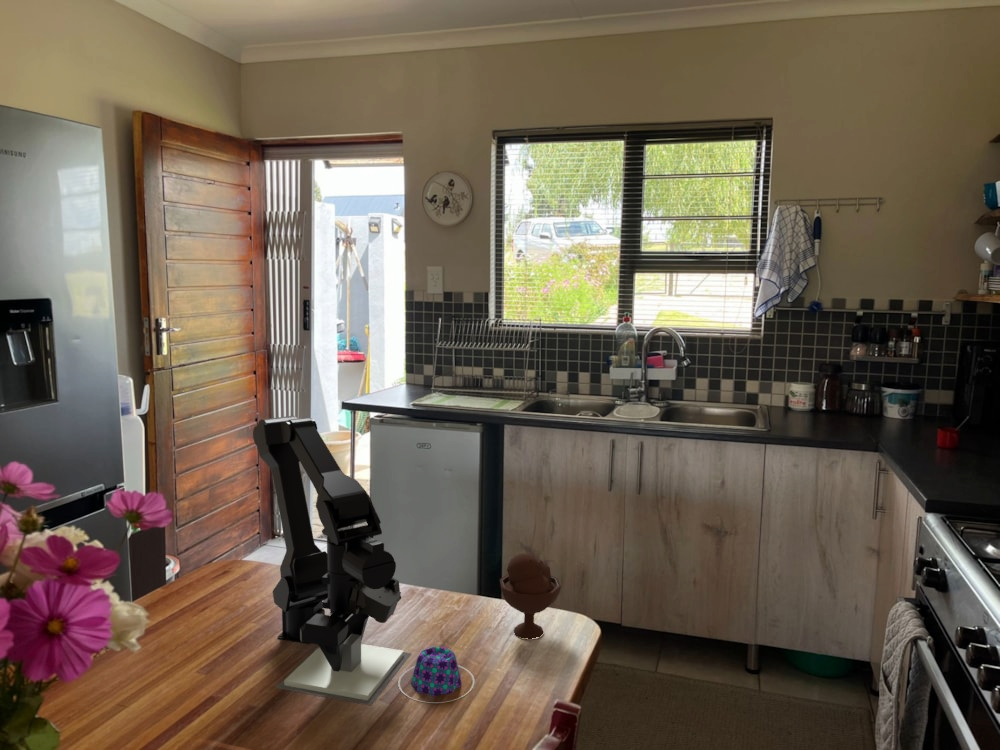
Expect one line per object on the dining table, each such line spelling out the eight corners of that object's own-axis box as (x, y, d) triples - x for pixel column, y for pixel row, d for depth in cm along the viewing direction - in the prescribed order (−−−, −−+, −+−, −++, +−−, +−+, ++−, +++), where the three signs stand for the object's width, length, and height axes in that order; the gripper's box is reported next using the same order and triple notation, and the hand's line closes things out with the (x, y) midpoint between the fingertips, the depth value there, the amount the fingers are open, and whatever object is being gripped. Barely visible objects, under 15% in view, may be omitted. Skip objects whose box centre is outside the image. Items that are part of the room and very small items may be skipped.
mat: (275, 690, 116) (275, 687, 116) (325, 641, 131) (325, 639, 131) (371, 707, 112) (371, 705, 112) (411, 655, 127) (411, 653, 127)
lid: (284, 685, 116) (283, 653, 116) (327, 642, 130) (327, 613, 129) (367, 700, 113) (367, 667, 112) (403, 655, 126) (403, 625, 125)
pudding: (486, 675, 122) (487, 645, 121) (454, 715, 111) (454, 682, 110) (420, 659, 126) (421, 630, 125) (383, 696, 115) (383, 664, 114)
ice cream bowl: (555, 650, 130) (558, 567, 128) (492, 642, 132) (494, 560, 130) (563, 622, 140) (565, 545, 138) (504, 616, 142) (505, 539, 140)
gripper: (367, 598, 108) (367, 700, 110) (415, 552, 126) (414, 640, 128) (297, 588, 111) (299, 687, 113) (354, 544, 129) (354, 631, 131)
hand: (346, 660), depth 121 cm, fingers open, 6 cm apart
